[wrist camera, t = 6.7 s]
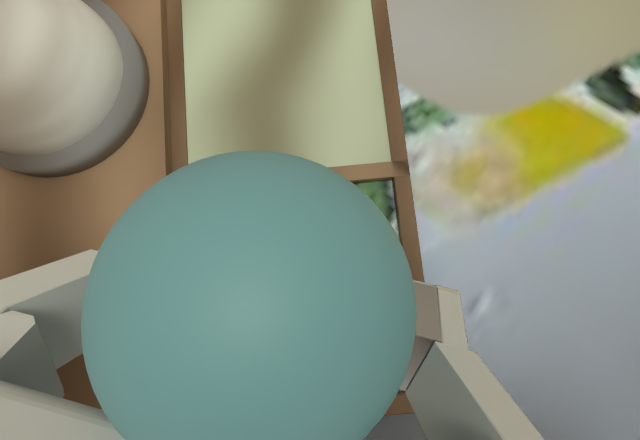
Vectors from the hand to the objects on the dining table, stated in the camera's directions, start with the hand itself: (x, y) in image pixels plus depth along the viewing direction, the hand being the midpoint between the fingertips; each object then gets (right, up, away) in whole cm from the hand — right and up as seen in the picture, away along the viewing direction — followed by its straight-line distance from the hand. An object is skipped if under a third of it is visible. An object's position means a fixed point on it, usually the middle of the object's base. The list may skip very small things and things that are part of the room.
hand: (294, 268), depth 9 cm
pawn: (0, -2, +5) cm, 5 cm away
